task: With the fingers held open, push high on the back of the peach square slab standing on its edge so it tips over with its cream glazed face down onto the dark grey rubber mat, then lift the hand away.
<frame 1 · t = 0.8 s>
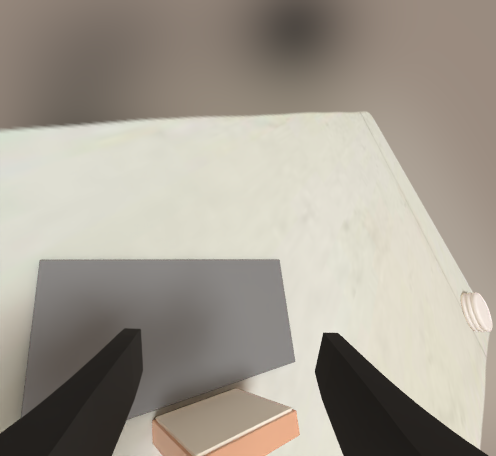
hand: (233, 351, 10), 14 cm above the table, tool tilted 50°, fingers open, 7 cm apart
rubber mat: (194, 322, 24), on the table
white thick disc: (467, 312, 69), on the table
peach square slab: (199, 413, 22), on the table
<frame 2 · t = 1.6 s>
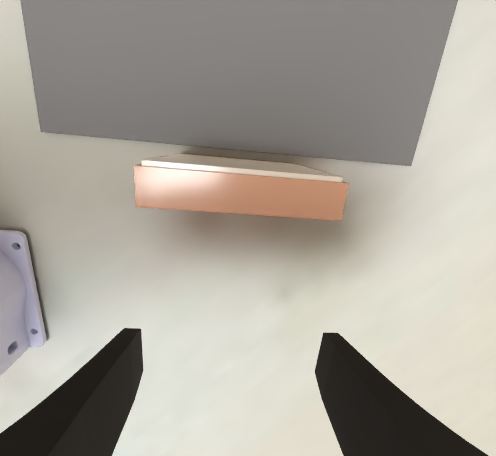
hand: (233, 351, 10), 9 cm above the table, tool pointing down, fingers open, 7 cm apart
rubber mat: (247, 43, 15), on the table
peach square slab: (237, 173, 17), on the table
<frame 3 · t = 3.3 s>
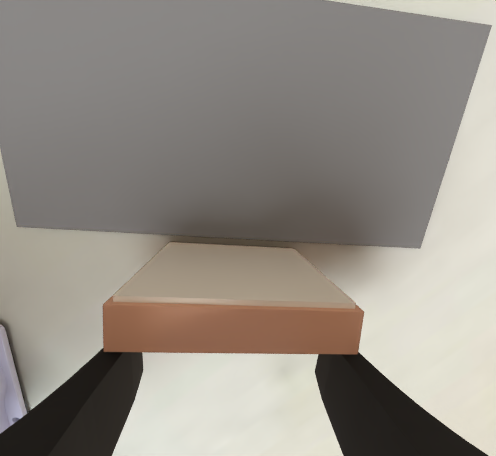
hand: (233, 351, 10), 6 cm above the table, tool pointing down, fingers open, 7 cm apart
rubber mat: (241, 131, 13), on the table
peach square slab: (232, 259, 16), on the table, tilted 9°
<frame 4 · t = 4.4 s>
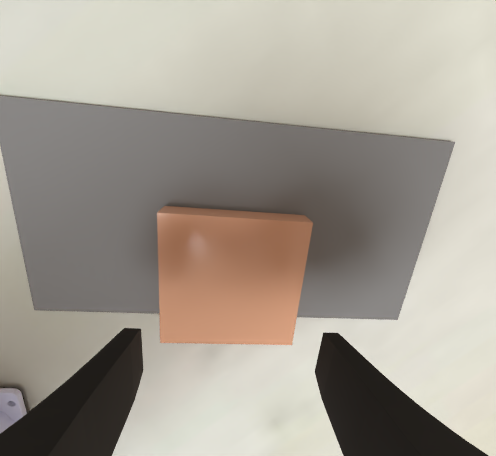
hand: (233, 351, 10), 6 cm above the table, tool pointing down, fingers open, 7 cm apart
rubber mat: (234, 228, 15), on the table
peach square slab: (227, 334, 16), point 1 cm above the table, tilted 90°, touching rubber mat
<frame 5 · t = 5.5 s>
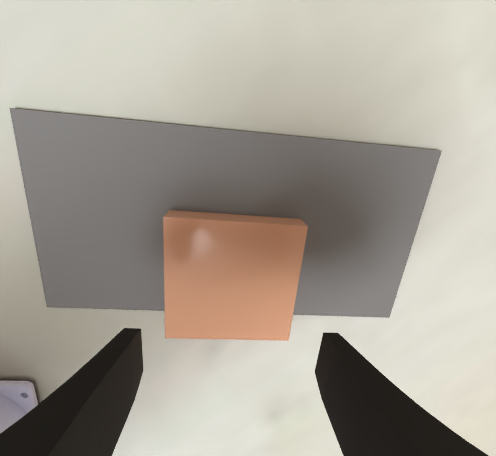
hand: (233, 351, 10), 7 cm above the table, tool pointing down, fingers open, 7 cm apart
rubber mat: (235, 230, 16), on the table
peach square slab: (228, 331, 17), point 1 cm above the table, tilted 90°, touching rubber mat
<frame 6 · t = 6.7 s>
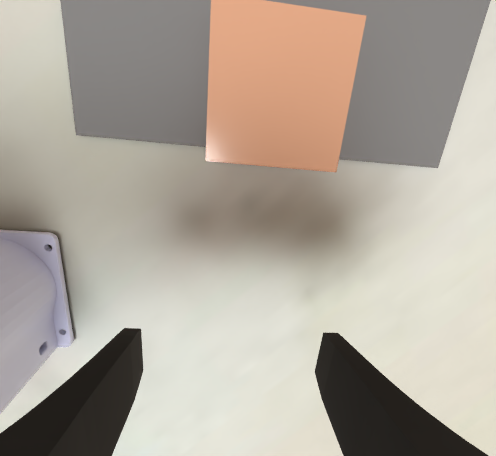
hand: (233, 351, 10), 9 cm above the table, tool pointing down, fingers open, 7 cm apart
rubber mat: (280, 47, 15), on the table
peach square slab: (270, 165, 16), point 1 cm above the table, tilted 90°, touching rubber mat
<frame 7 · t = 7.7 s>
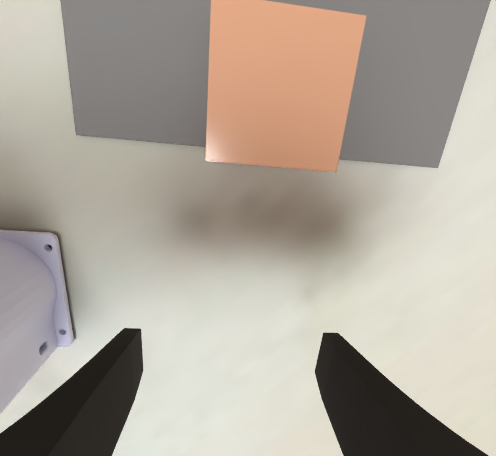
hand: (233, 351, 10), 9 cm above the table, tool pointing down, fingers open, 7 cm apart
rubber mat: (280, 47, 15), on the table
peach square slab: (270, 165, 16), point 1 cm above the table, tilted 90°, touching rubber mat
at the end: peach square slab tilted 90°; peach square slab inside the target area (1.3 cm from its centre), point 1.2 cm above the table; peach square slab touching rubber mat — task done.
